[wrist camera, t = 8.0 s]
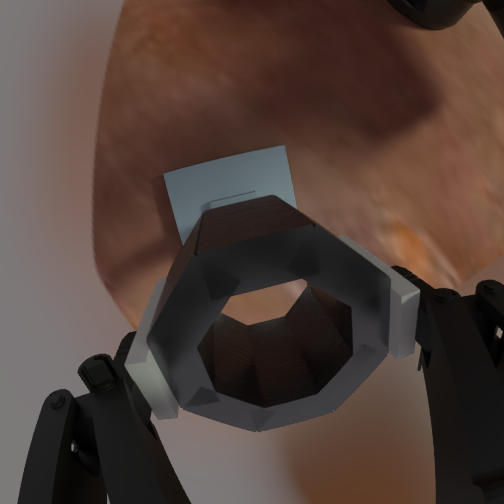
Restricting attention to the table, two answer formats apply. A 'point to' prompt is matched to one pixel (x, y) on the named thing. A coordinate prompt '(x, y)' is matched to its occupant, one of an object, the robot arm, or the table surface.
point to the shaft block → (227, 184)
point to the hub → (272, 331)
